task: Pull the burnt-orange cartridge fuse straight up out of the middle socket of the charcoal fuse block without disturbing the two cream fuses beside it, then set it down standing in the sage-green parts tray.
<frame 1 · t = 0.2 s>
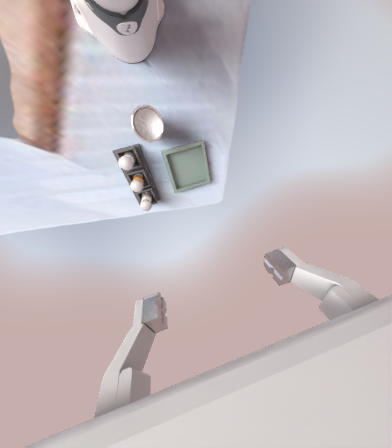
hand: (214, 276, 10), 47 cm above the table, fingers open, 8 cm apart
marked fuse: (139, 178, 48), point 1 cm above the table, touching fuse block
parts tray: (186, 167, 51), on the table
fuse block: (139, 177, 49), on the table
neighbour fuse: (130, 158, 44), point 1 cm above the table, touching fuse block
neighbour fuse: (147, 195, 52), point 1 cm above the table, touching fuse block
beer glass: (149, 126, 42), on the table
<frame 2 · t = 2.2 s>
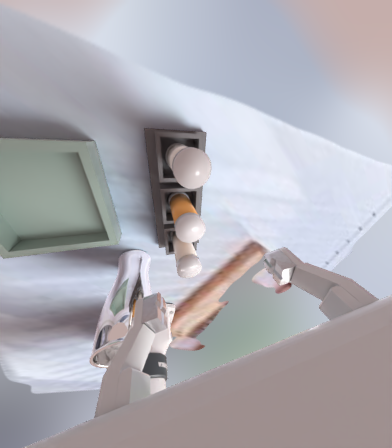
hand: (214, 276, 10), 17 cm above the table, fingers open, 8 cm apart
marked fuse: (178, 200, 23), point 1 cm above the table, touching fuse block
parts tray: (53, 198, 19), on the table
fuse block: (177, 198, 24), on the table
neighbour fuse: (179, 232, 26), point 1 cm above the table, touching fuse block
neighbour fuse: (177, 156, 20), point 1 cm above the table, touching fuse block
beer glass: (135, 260, 29), on the table
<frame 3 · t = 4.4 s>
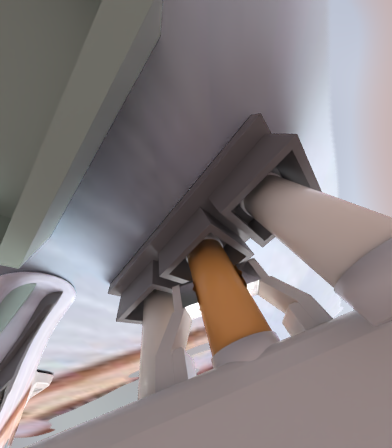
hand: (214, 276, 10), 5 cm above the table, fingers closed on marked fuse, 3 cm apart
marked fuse: (201, 244, 13), point 1 cm above the table, touching fuse block, gripper
fuse block: (198, 237, 14), on the table
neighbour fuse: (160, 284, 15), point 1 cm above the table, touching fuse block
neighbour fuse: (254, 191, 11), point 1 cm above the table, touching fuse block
beer glass: (37, 291, 13), on the table
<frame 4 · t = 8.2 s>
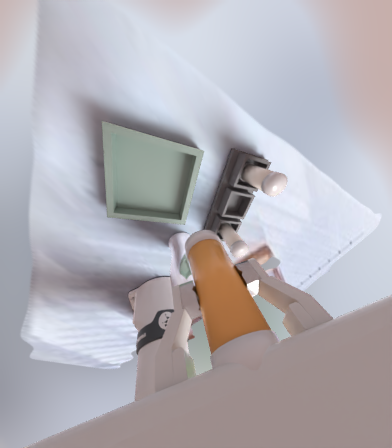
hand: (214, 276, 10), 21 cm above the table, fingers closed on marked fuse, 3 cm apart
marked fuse: (202, 244, 13), point 17 cm above the table, touching gripper
parts tray: (153, 180, 26), on the table
fuse block: (230, 199, 32), on the table
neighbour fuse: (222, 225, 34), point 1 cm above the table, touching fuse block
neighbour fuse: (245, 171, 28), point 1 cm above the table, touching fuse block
beer glass: (180, 241, 35), on the table
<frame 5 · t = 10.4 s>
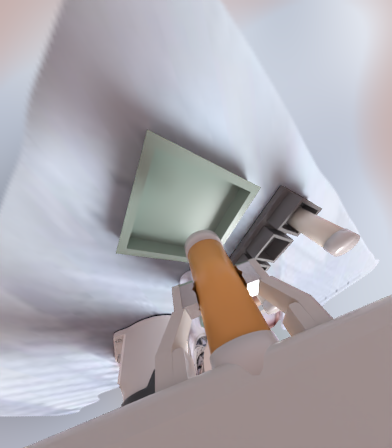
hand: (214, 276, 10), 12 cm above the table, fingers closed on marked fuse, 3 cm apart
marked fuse: (202, 244, 13), point 8 cm above the table, touching gripper
parts tray: (184, 209, 20), on the table
fuse block: (261, 237, 28), on the table
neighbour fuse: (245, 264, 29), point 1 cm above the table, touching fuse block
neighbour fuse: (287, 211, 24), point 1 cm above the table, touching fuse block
beer glass: (193, 277, 29), on the table
when the fingers open (5 cm above the table, at t = 12.3 s): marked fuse stays where it is, resting on parts tray.
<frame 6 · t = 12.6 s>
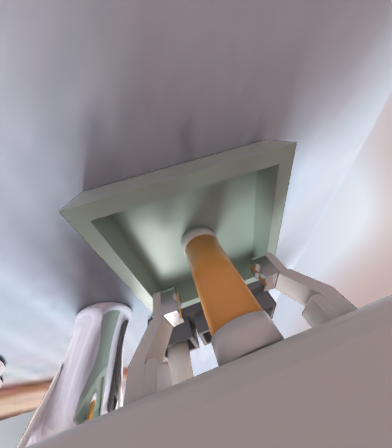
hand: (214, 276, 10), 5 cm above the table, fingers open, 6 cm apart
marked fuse: (198, 240, 14), point 1 cm above the table, touching parts tray
parts tray: (197, 234, 14), on the table
fuse block: (211, 309, 24), on the table
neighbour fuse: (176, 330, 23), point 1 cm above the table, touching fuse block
beer glass: (106, 313, 18), on the table
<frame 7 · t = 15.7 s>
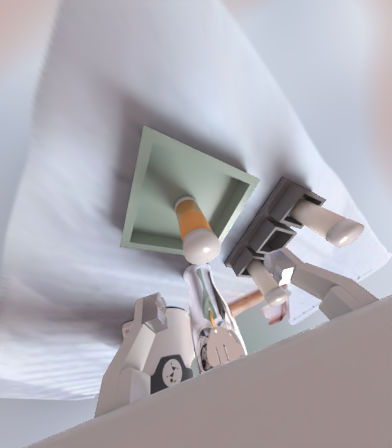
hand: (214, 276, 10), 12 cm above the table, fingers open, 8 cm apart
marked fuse: (186, 206, 20), point 1 cm above the table, touching parts tray
parts tray: (185, 203, 20), on the table
fuse block: (263, 231, 27), on the table
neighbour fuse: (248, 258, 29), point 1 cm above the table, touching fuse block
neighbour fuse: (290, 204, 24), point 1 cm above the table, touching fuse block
beer glass: (196, 271, 30), on the table
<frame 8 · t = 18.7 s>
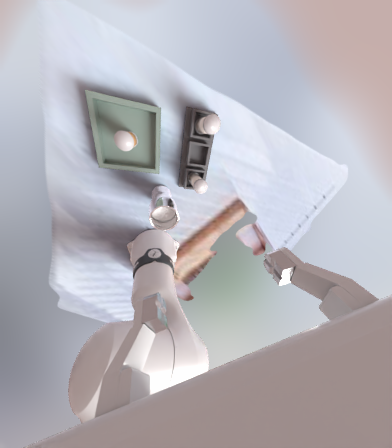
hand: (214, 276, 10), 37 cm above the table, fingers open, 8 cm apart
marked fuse: (130, 139, 34), point 1 cm above the table, touching parts tray
parts tray: (130, 138, 34), on the table
fuse block: (195, 153, 40), on the table
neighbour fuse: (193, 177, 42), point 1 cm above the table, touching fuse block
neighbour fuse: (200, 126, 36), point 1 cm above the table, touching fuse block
beer glass: (161, 194, 44), on the table
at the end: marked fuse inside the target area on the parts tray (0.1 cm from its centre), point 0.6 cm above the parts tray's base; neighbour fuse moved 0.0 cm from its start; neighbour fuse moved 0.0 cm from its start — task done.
